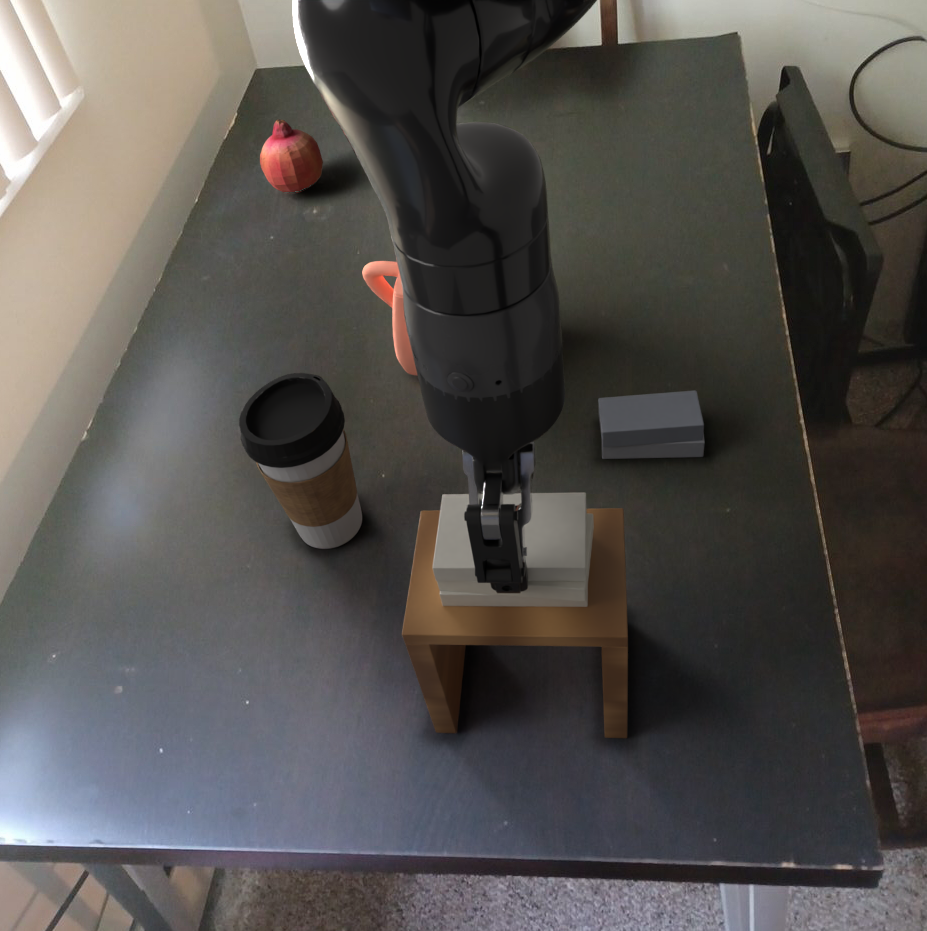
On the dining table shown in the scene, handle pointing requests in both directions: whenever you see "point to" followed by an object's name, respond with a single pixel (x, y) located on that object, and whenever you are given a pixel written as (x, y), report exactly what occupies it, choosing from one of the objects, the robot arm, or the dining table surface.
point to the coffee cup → (304, 456)
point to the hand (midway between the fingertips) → (514, 529)
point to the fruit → (290, 158)
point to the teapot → (395, 300)
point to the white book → (546, 537)
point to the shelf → (519, 624)
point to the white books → (532, 597)
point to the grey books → (651, 426)
